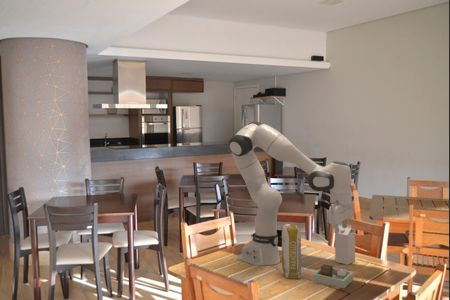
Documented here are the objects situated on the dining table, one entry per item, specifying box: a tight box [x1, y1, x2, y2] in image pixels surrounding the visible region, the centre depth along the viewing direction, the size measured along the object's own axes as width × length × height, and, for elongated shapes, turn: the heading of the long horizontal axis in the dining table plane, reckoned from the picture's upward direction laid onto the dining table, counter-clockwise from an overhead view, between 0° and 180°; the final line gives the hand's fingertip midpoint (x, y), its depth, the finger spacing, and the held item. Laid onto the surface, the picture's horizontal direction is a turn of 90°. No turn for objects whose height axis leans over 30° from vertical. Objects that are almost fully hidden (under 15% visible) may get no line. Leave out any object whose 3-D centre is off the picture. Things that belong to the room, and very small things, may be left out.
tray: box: [312, 267, 355, 289], centre depth 177 cm, size 14×12×3 cm
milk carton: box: [334, 223, 356, 266], centre depth 199 cm, size 7×7×19 cm
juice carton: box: [281, 223, 302, 279], centre depth 183 cm, size 9×8×24 cm
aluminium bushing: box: [336, 266, 347, 280], centre depth 175 cm, size 4×4×5 cm
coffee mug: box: [277, 225, 283, 248], centre depth 229 cm, size 12×9×10 cm
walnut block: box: [320, 263, 334, 277], centre depth 178 cm, size 4×4×5 cm
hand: (340, 230), depth 173 cm, fingers open, 8 cm apart
